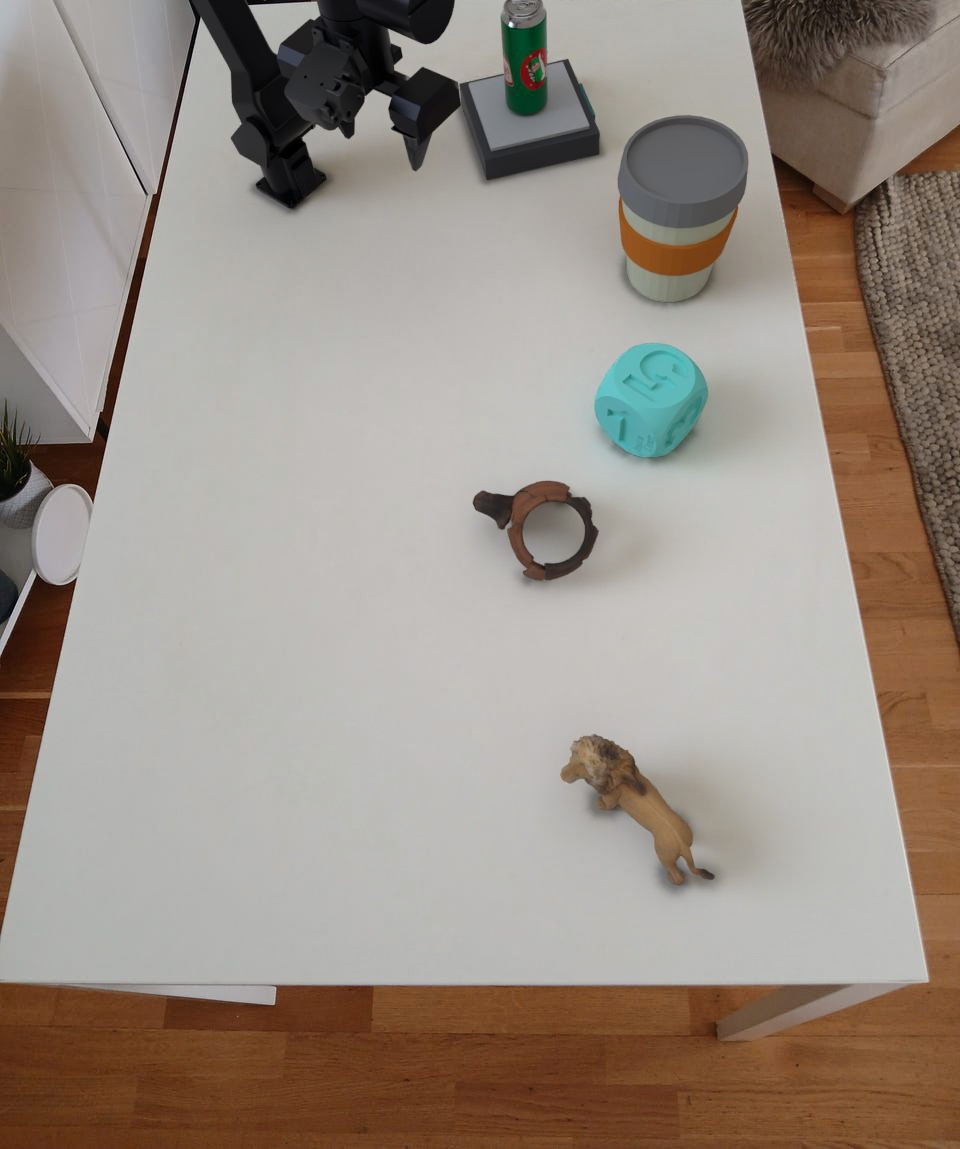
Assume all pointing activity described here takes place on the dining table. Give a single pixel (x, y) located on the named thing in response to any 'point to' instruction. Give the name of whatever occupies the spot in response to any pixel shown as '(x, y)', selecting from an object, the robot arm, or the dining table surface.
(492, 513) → the jagged brown ring
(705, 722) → the dining table surface
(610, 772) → the lion figurine
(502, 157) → the scale
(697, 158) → the reusable coffee cup
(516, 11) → the soda can
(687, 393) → the decorative dice
